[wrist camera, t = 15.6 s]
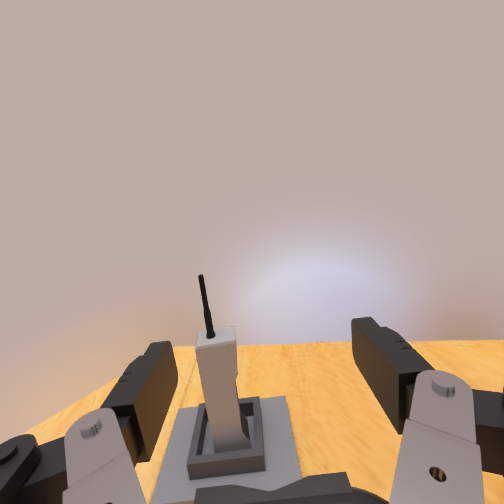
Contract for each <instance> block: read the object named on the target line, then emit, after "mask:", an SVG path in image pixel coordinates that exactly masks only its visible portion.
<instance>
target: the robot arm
mask: <svg viewBox="0 0 504 504" xmlns="http://www.w3.org/2000/svg"><path fill="white" fill-rule="evenodd" d="M351 329H352V351H353V357H354V360H355V363H356V365H357V367H358V369H359V370H360V372H361V374H362V375H363V377H364V379H365V380H366V382H367V383H368V385H369V387H370V388H371V390H372V392H373V393H374V395H375V397H376V398H377V400H378V402H379V403H380V405H381V407H382V408H383V410H384V412H385V413H386V415H387V416H388V418H389V420H390V421H391V423H392V425H393V426H394V428H395V430H396V431H397V433H398V435H399V434H403V435H402V440H401V445H400V450H399V455H398V460H397V465H396V470H395V475H394V480H393V485H392V491H391V496H390V501H389V502H388V501H386V500H385V499H383V498H381V497H379V496H377V495H375V494H373V493H371V492H369V491H366V490H363V489H360V488H356V487H351V485H350V482H349V480H348V477H347V474H346V472H339V473H330V474H321V475H312V476H307V477H305V478H303V479H300V480H298V481H295V482H293V483H291V484H288V485H286V486H284V487H281V488H279V489H276V490H274V491H266V490H261V489H255V488H250V487H245V486H239V485H234V484H231V485H222V486H213V487H204V488H196V493H195V499H194V504H485V502H484V490H483V477H482V471H485V472H490V473H495V474H499V475H502V476H503V477H504V388H503V393H499V392H491V391H482V390H475V389H471V388H470V386H469V385H468V384H467V383H466V382H465V381H463V380H462V379H460V378H459V377H457V376H455V375H453V374H450V373H447V372H444V371H439V370H435V369H434V368H433V367H432V366H431V365H430V364H429V363H428V362H427V361H426V360H425V359H424V358H423V357H422V356H421V355H420V354H419V353H418V352H417V351H416V350H415V349H412V346H411V345H410V344H408V343H407V342H406V341H405V340H404V339H403V338H402V337H401V336H400V335H399V334H398V333H397V332H395V331H393V330H391V329H389V328H387V327H380V326H379V325H378V324H377V323H376V322H375V321H374V320H373V318H371V317H363V318H356V319H352V322H351ZM177 383H178V371H177V367H176V362H175V358H174V353H173V349H172V345H171V342H170V341H162V342H153V343H151V344H150V345H149V347H148V349H147V350H146V352H145V353H144V355H143V356H139V357H137V358H136V359H135V360H134V361H133V362H132V363H130V364H129V366H128V367H127V368H126V370H125V371H124V373H123V375H122V376H121V377H120V379H119V380H118V383H116V385H115V386H114V388H113V389H112V391H111V392H110V394H109V395H108V397H107V398H106V400H105V401H104V402H103V404H102V405H101V407H100V408H99V409H97V410H94V411H91V412H89V413H87V414H86V415H84V416H82V417H81V418H79V419H78V420H77V421H76V422H75V423H74V424H73V425H72V426H71V427H70V428H69V429H68V431H67V433H66V435H65V436H64V437H61V438H58V439H56V440H53V441H50V442H47V443H45V444H42V445H39V446H38V444H37V441H36V439H35V437H34V436H33V435H31V434H24V435H20V436H17V437H14V438H12V439H9V440H8V441H6V442H4V443H2V444H0V504H147V503H146V500H145V498H144V495H143V492H142V489H141V486H140V483H139V480H138V477H137V474H136V471H135V469H134V468H135V466H136V464H137V463H141V462H150V459H151V456H152V453H153V451H154V448H155V445H156V442H157V440H158V437H159V434H160V431H161V429H162V426H163V423H164V420H165V417H166V415H167V412H168V409H169V406H170V404H171V401H172V398H173V395H174V393H175V390H176V387H177Z"/></svg>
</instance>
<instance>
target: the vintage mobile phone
mask: <svg viewBox="0 0 504 504" xmlns="http://www.w3.org/2000/svg"><path fill="white" fill-rule="evenodd" d="M198 278H199V283H200V289H201V295H202V301H203V306H204V318H205V324H206V329H207V331H201V332H199V333H198V335H197V341H196V347H195V352H196V357H197V362H198V368H199V373H200V378H201V383H202V389H203V394H204V399H205V405H206V410H207V415H208V420H209V426H210V431H211V436H212V442H213V447H214V452H215V453H221V452H229V451H238V450H246V449H251V448H252V445H251V438H250V430H249V423H248V420H247V418H246V417H245V416H244V415H243V414H242V412H241V411H240V406H239V400H238V393H237V387H236V378H237V375H238V372H237V350H236V336H235V327H234V326H230V327H224V328H218V329H213V325H212V319H211V313H210V310H209V307H208V301H207V295H206V289H205V284H204V277H203V275H199V276H198Z"/></svg>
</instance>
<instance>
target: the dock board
mask: <svg viewBox="0 0 504 504" xmlns="http://www.w3.org/2000/svg"><path fill="white" fill-rule="evenodd" d="M238 400H239V406H240V411H241V412H242V414H243V415H244V416H245V417H246V418H247V420H248V423H249V430H250V438H251V445H252V448H251V449H246V450H238V451H229V452H221V453H215V452H214V447H213V442H212V436H211V431H210V426H209V420H208V415H207V410H206V405H205V403H201V404H199V406H198V407H190V408H181V409H179V410H178V413H177V417H176V420H175V423H174V426H173V430H172V433H171V436H170V440H169V443H168V446H167V450H166V453H165V456H164V460H163V463H162V466H161V469H160V473H159V476H158V479H157V483H156V486H155V489H154V493H153V496H152V499H151V503H150V504H194V499H195V493H196V488H204V487H213V486H222V485H231V484H234V485H239V486H245V487H250V488H255V489H261V490H266V491H274V490H276V489H279V488H281V487H284V486H286V485H288V484H291V483H293V482H295V481H298V480H300V479H302V477H301V472H300V467H299V462H298V457H297V452H296V447H295V442H294V437H293V432H292V427H291V422H290V417H289V412H288V407H287V402H286V397H285V396H279V397H271V398H263V399H259V396H258V397H250V398H242V399H238Z"/></svg>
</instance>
